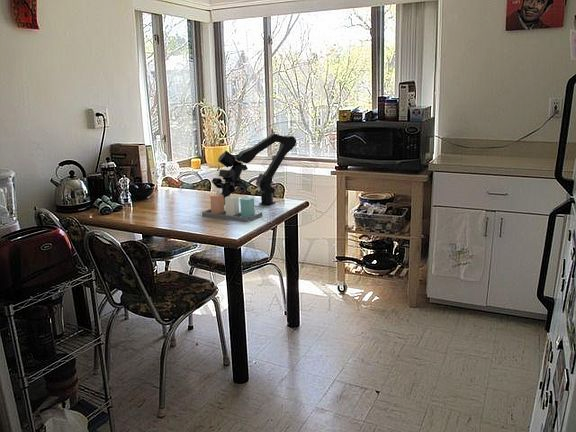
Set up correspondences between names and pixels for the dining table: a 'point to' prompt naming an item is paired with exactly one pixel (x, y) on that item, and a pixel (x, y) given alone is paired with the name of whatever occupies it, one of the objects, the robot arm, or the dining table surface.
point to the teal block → (247, 207)
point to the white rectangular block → (232, 205)
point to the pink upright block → (217, 203)
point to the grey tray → (234, 217)
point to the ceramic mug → (221, 193)
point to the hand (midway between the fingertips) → (222, 198)
